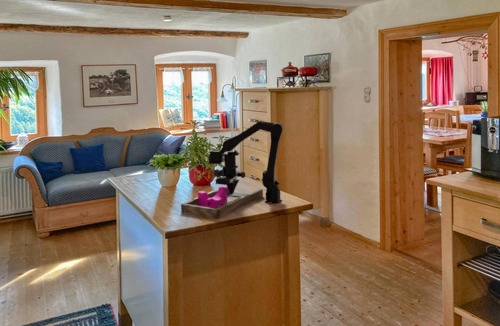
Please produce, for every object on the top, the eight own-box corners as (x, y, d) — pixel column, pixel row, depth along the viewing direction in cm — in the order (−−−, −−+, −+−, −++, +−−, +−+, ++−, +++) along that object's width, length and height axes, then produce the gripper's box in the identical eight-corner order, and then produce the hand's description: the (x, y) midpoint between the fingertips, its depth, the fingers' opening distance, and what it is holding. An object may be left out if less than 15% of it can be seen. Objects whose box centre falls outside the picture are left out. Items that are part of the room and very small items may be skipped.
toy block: (206, 209, 216) (205, 194, 214) (198, 206, 220) (197, 191, 219) (230, 202, 226) (229, 188, 224) (222, 200, 230) (221, 186, 229)
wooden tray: (262, 196, 235) (262, 188, 234) (217, 218, 201) (217, 209, 200) (229, 192, 246) (229, 184, 245) (181, 212, 212) (180, 203, 211)
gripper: (227, 159, 237) (228, 188, 240) (205, 166, 221) (207, 197, 224) (245, 161, 231) (246, 190, 234) (224, 168, 216) (226, 199, 219)
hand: (231, 194), depth 228 cm, fingers closed
